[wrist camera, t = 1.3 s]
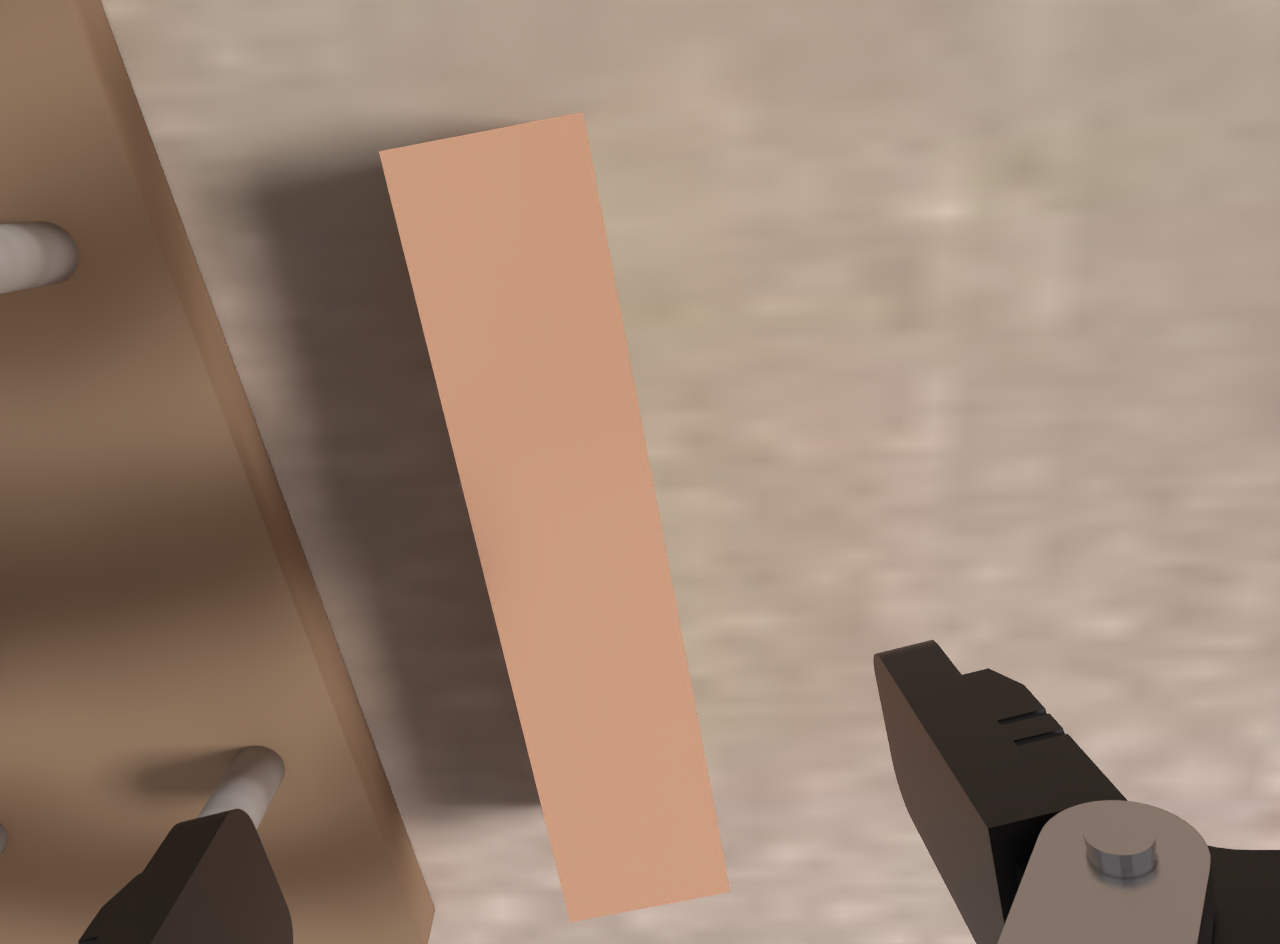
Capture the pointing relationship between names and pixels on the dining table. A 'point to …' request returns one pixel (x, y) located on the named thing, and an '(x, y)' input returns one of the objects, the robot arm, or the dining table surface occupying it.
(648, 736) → the clay strip
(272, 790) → the rack
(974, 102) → the dining table surface
